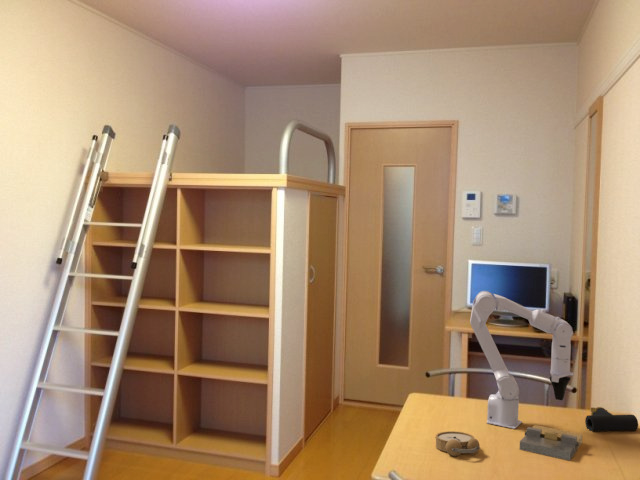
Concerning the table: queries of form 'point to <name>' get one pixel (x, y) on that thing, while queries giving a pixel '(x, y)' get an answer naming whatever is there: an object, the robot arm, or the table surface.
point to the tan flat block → (557, 434)
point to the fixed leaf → (549, 444)
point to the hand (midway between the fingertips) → (559, 399)
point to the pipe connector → (610, 421)
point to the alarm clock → (457, 443)
